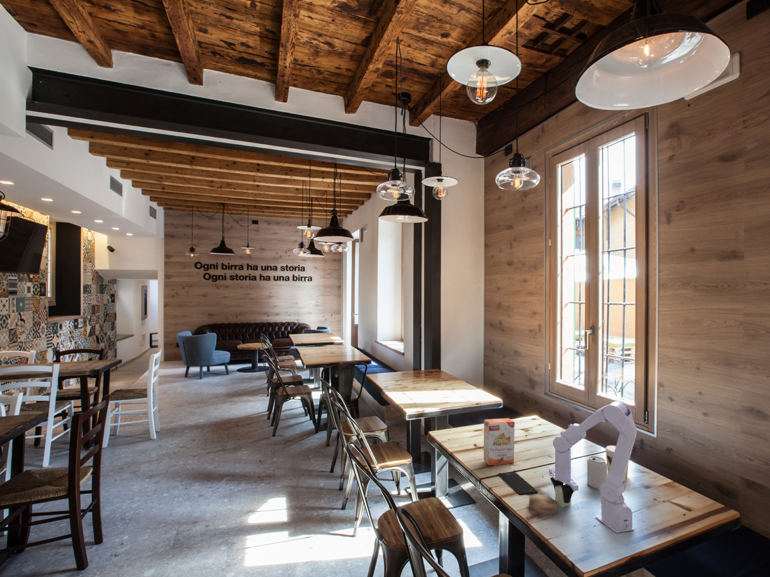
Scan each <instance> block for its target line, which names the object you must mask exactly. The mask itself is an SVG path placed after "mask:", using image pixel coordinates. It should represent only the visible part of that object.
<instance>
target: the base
mask: <svg viewBox="0 0 770 577" xmlns="http://www.w3.org/2000/svg"><path fill="white" fill-rule="evenodd" d="M528 500H529V501H528V503H529V508H530V509H531V510H532V511H533V512H535V513H536V514H540V515H543V516H554V515H556V514H557V513H558V503H557V502H556V501H555V498H552V497H550V496H548V495H545V494H538V493H534V494H531V495H530V496H529V499H528Z"/></svg>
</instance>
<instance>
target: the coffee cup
mask: <svg viewBox="0 0 770 577" xmlns="http://www.w3.org/2000/svg"><path fill="white" fill-rule="evenodd" d="M615 448H616V445H607V446H606V447H605V457H606V458H605V459H606V464H607V473H608V472H609V469H610V466H611V462H612V459H613V455H614V452H615ZM628 471H629V464H628V465H627V469H626V472H625V480H627V478H628V475H629V474H628V473H629V472H628Z"/></svg>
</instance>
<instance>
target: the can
mask: <svg viewBox="0 0 770 577" xmlns="http://www.w3.org/2000/svg"><path fill="white" fill-rule="evenodd" d="M586 464H587V465H586V470H587V471H586V472H587V473H586V474H587V475H586V478H587V479H586V482H587V484H588V485H589V486H590V487H591V488H593V489H596V490H599V491H600V486H601V485H602V484H603V483H604V482H605V479H606V477H607V475H608V471H607V461H606V460H605V459H604V458H603V457H600V456H596V455H589V456H588V459H587V461H586Z"/></svg>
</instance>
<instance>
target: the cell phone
mask: <svg viewBox="0 0 770 577" xmlns="http://www.w3.org/2000/svg"><path fill="white" fill-rule="evenodd" d="M497 476H499V477H500V479H502V480H503V481H504V482H505V484H507V485H508V486H509V487H510V488H512V490H513V491H514V492H515V493H517V494H518V495H519V496H524V495H526V496H527V495H535V494H538V492H539V491H538V490H537V489H536V488H535V487H533V486H532V485H531V484H530V483H529V482H528V481H527V480H525V479H524V478H523V477H521V476H520V475H519V474H518V473H517V472H516V471H507V472H499V473H497Z"/></svg>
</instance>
